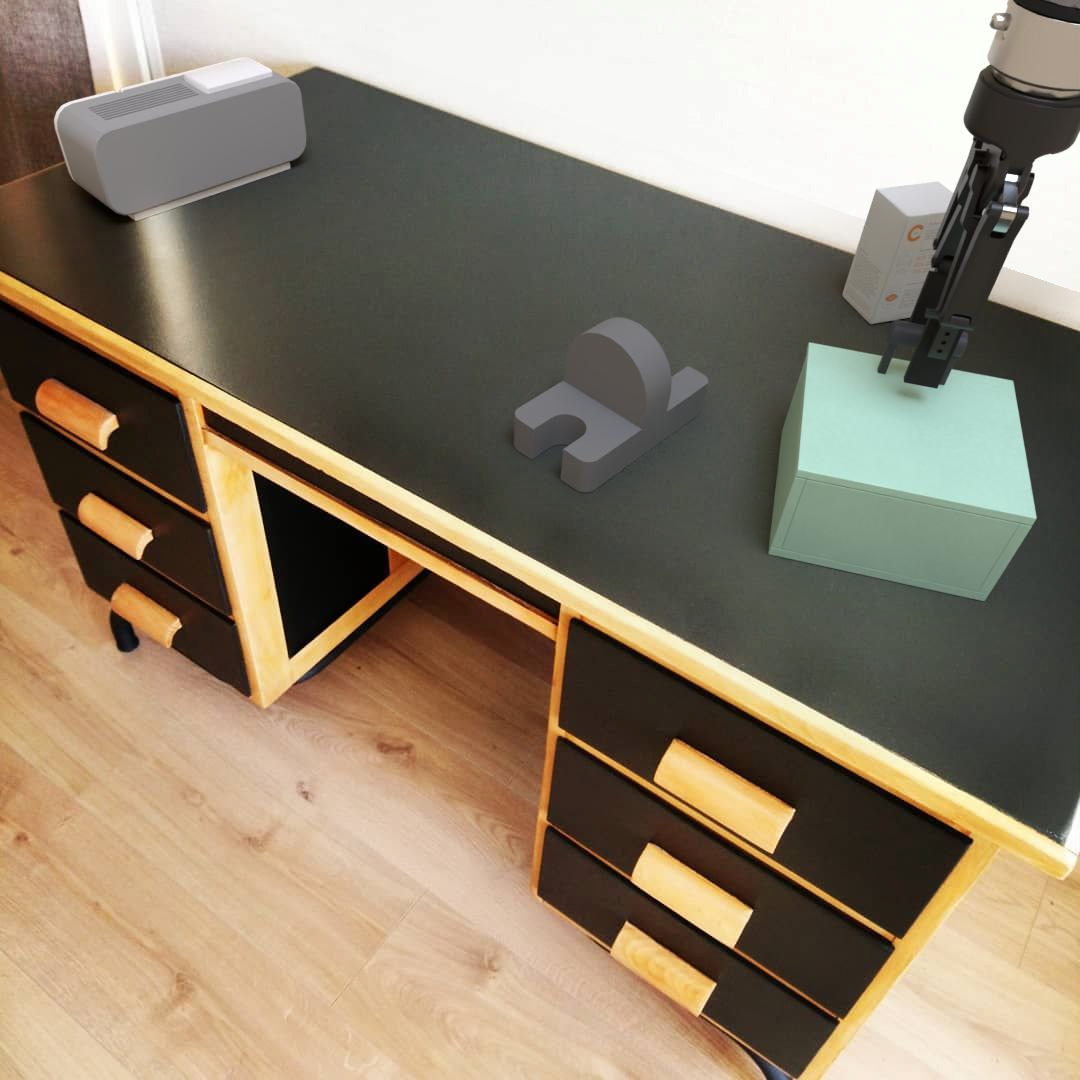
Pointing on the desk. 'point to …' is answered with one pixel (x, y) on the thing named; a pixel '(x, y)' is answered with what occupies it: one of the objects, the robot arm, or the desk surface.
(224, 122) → the alarm clock
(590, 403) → the bracket
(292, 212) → the desk surface
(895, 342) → the lid
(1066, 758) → the desk surface
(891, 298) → the small box
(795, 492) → the compartment
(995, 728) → the desk surface
